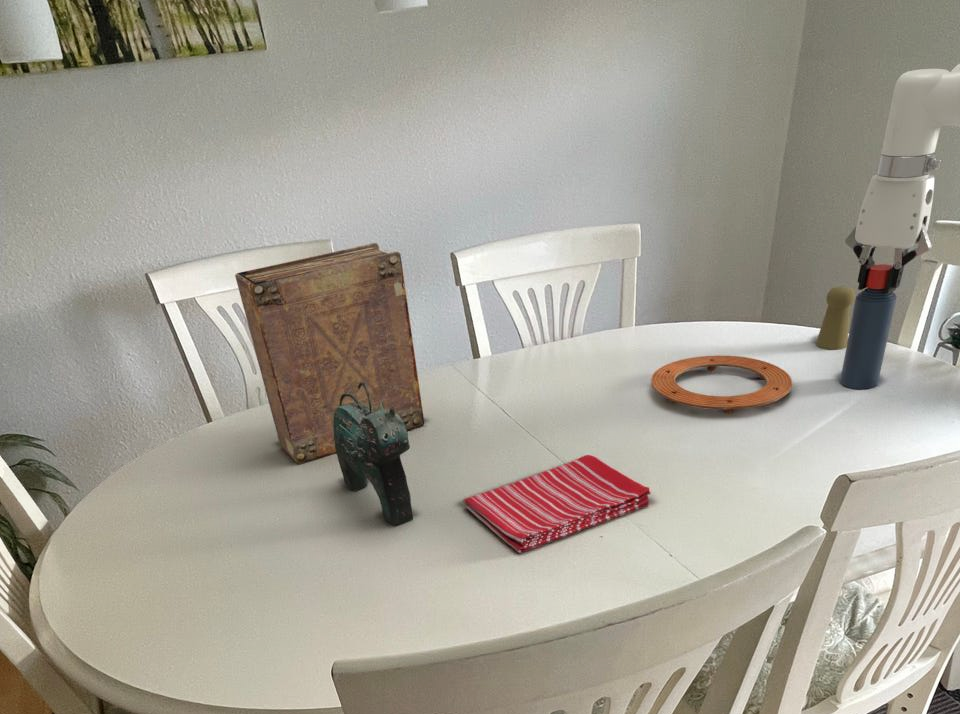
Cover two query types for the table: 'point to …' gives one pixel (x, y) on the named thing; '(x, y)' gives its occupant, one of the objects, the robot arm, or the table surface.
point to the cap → (878, 276)
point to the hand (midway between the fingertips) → (877, 288)
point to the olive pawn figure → (836, 319)
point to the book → (331, 342)
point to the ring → (771, 392)
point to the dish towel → (557, 502)
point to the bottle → (867, 338)
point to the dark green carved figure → (374, 454)
